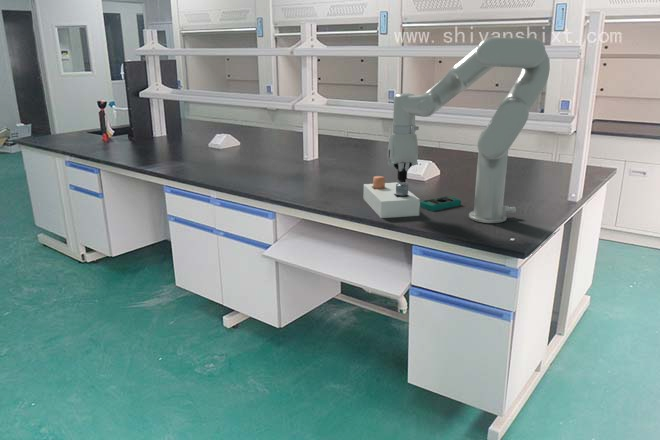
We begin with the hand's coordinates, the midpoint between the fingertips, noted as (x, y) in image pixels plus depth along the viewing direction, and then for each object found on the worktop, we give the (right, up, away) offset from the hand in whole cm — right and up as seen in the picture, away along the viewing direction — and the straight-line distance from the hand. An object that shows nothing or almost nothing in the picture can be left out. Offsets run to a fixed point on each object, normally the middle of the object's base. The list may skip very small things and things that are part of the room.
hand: (402, 181), depth 189 cm
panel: (-3, -9, +9) cm, 13 cm away
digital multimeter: (+16, -9, +9) cm, 21 cm away
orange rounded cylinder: (-7, -3, +13) cm, 15 cm away
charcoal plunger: (0, -6, +2) cm, 7 cm away
